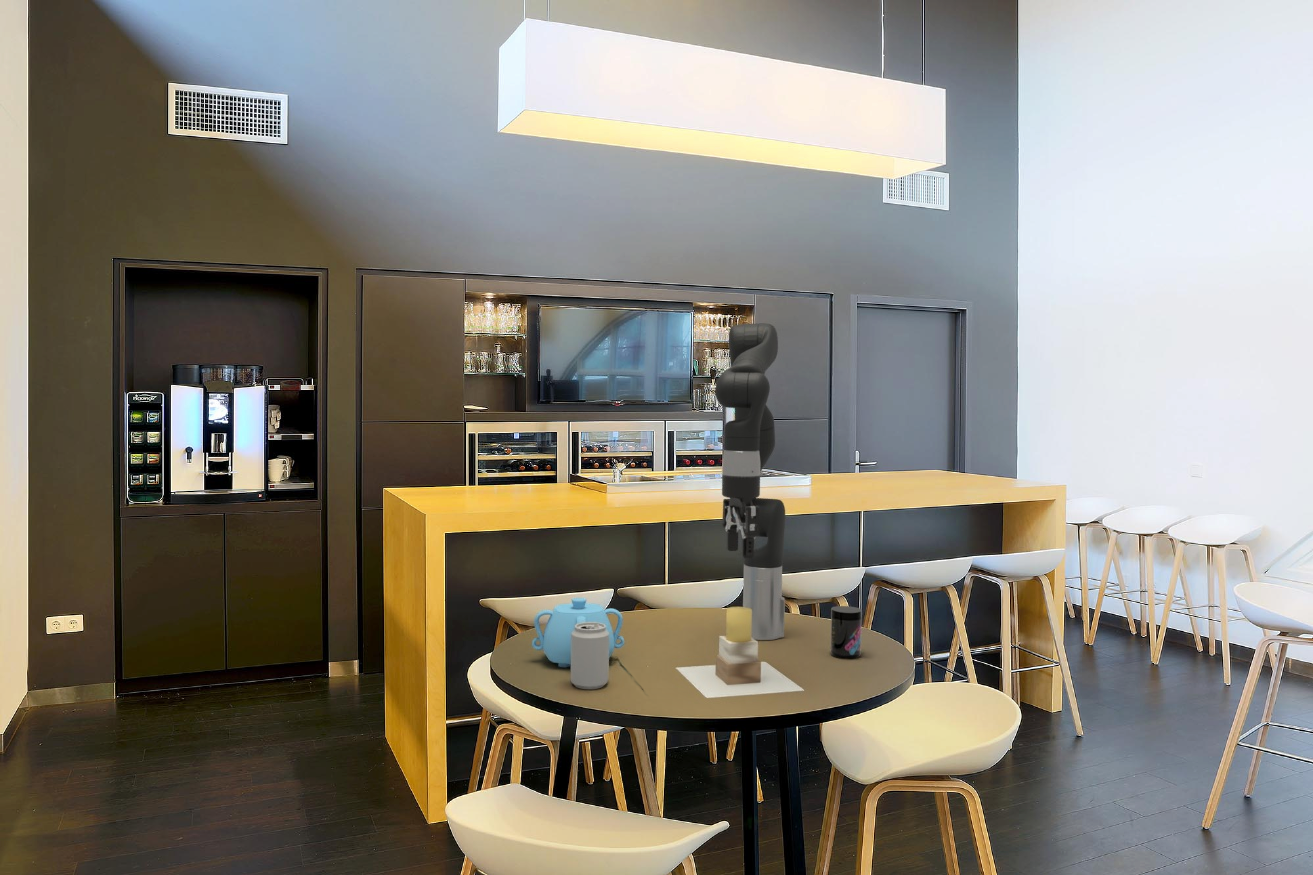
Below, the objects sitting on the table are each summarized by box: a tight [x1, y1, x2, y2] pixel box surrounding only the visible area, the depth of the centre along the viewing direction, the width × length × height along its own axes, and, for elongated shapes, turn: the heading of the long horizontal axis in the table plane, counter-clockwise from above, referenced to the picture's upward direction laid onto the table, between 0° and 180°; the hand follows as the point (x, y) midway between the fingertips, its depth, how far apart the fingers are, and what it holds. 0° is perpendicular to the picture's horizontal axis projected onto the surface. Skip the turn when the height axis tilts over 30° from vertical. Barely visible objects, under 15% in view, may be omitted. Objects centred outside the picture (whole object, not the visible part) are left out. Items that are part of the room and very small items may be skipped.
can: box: [570, 622, 610, 690], centre depth 184 cm, size 8×8×12 cm
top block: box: [718, 635, 759, 664], centre depth 186 cm, size 6×6×4 cm
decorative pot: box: [531, 597, 626, 668], centre depth 200 cm, size 16×16×14 cm
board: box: [675, 661, 806, 699], centre depth 186 cm, size 20×20×1 cm
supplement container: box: [829, 605, 863, 660], centre depth 208 cm, size 7×7×10 cm
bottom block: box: [715, 654, 762, 685], centre depth 186 cm, size 7×7×4 cm
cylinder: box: [725, 606, 752, 643], centre depth 185 cm, size 5×5×6 cm
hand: (739, 554), depth 185 cm, fingers open, 8 cm apart
